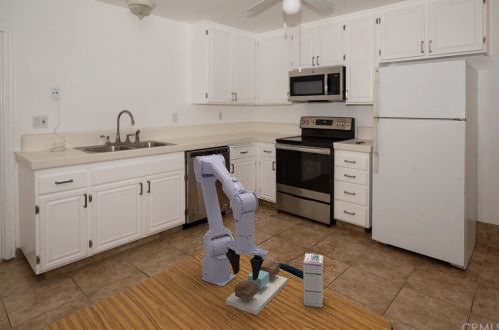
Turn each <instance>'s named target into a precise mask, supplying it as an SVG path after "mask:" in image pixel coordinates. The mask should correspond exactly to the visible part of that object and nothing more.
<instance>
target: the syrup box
mask: <svg viewBox="0 0 499 330" xmlns="http://www.w3.org/2000/svg"><path fill="white" fill-rule="evenodd" d="M302 282H303V283H302V284H303V306H306V307H314V308H315V307H316V308H323V303H324V255H323V254H320V253H305V254H304V257H303V281H302Z"/></svg>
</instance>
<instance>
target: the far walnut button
mask: <svg viewBox="0 0 499 330" xmlns="http://www.w3.org/2000/svg"><path fill="white" fill-rule="evenodd" d="M280 265H281V264H280V263H279V262H276V261H271V260H268V259H266V260H264V261H263V263H262V266H261V268H260V270H261V271H265V272H268V273H269V277H270V278H274V277H275V276H276V275H278V274H279V273H280V272H281V271H280V270H281V269H280Z"/></svg>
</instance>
